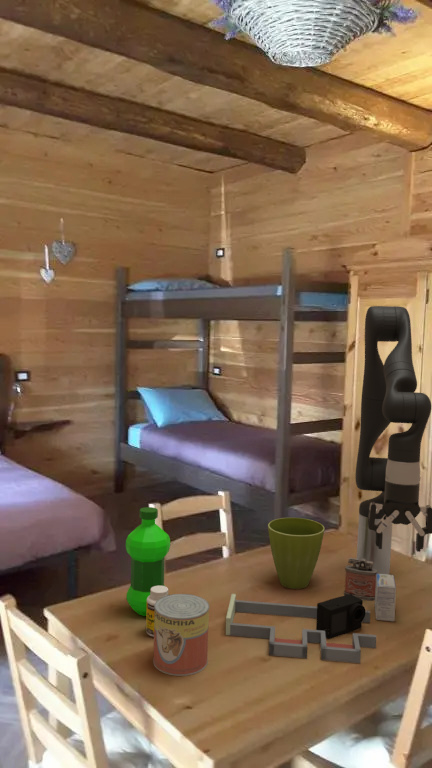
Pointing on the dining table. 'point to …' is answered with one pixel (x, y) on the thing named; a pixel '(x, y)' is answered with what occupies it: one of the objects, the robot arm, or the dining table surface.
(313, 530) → the flower pot
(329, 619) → the digital camera
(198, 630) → the canned food
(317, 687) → the dining table surface
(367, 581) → the lighter
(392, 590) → the medicine box
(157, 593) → the supplement bottle
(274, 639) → the channel
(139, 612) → the plastic bottle
